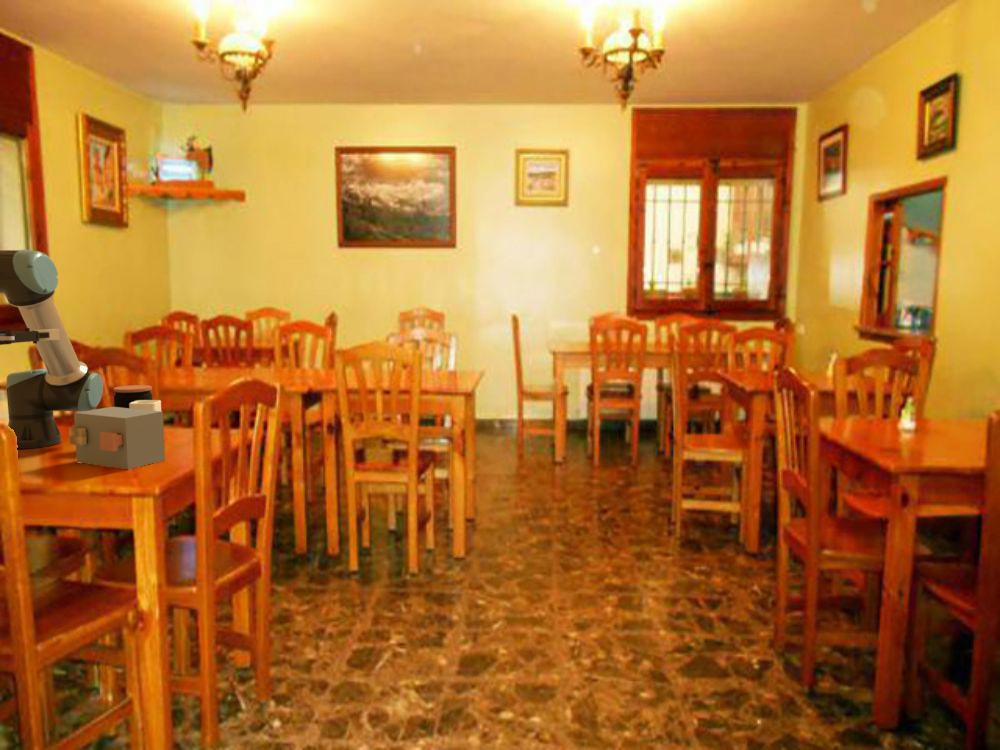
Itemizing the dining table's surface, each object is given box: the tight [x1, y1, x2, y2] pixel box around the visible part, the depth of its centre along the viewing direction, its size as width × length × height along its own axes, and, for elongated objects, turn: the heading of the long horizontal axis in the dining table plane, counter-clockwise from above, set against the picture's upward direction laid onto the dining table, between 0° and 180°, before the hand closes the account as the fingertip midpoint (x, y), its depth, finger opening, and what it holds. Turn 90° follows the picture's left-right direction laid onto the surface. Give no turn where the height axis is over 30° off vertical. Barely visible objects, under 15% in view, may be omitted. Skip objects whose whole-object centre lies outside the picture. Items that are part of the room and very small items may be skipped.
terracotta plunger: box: [100, 432, 123, 451], centre depth 198 cm, size 5×12×5 cm, turn 156°
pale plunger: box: [68, 426, 87, 446], centre depth 205 cm, size 5×12×5 cm, turn 156°
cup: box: [129, 399, 162, 411], centre depth 217 cm, size 7×7×15 cm
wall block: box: [73, 406, 166, 470], centre depth 204 cm, size 20×12×14 cm, turn 66°
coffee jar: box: [113, 384, 153, 408], centre depth 226 cm, size 11×11×18 cm
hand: (57, 334), depth 193 cm, fingers closed
